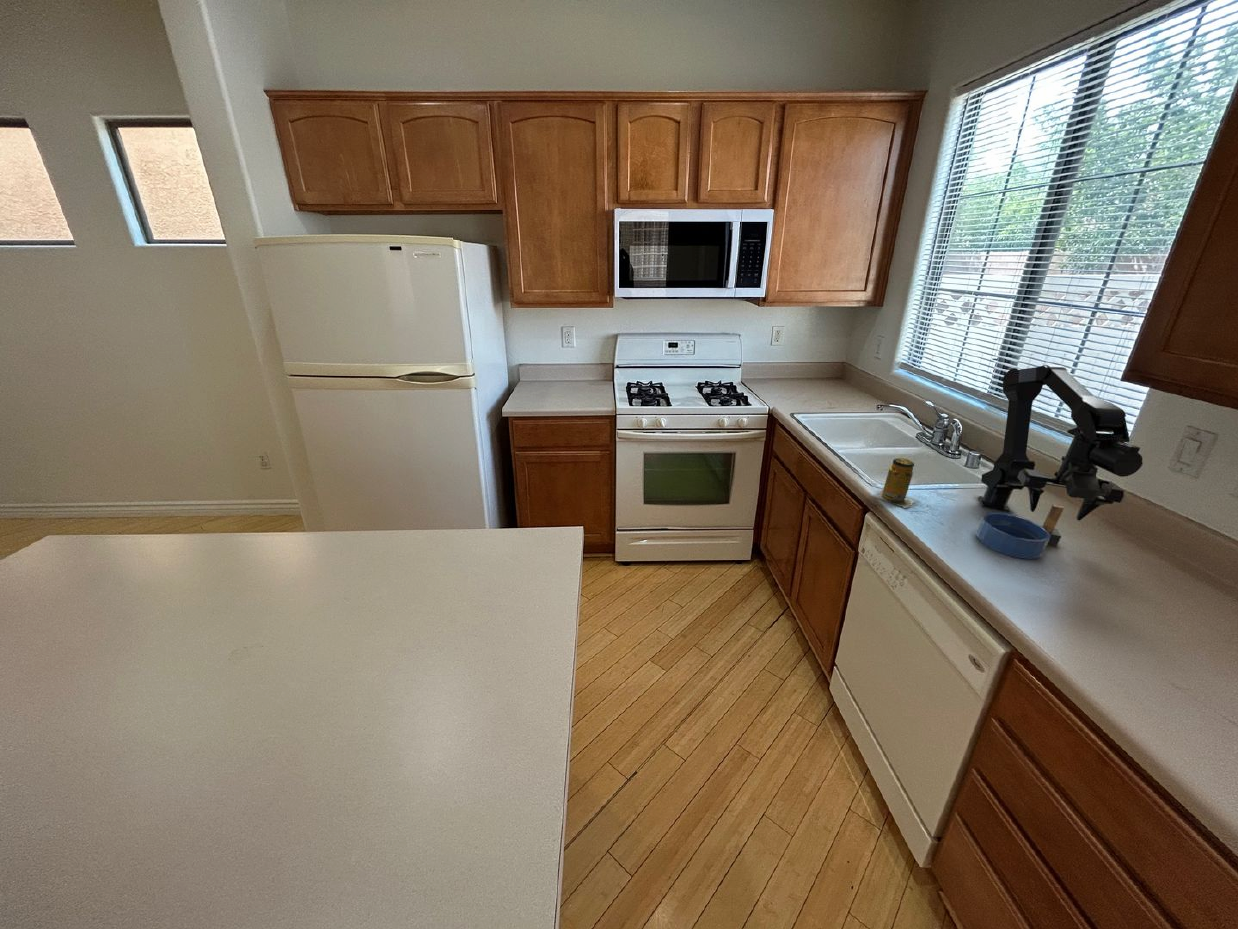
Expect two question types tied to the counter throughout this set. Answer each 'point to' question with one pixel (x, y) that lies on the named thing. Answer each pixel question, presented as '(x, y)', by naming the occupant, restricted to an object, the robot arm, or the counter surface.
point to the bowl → (1013, 535)
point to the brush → (1053, 523)
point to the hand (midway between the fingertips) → (1054, 515)
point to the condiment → (898, 483)
